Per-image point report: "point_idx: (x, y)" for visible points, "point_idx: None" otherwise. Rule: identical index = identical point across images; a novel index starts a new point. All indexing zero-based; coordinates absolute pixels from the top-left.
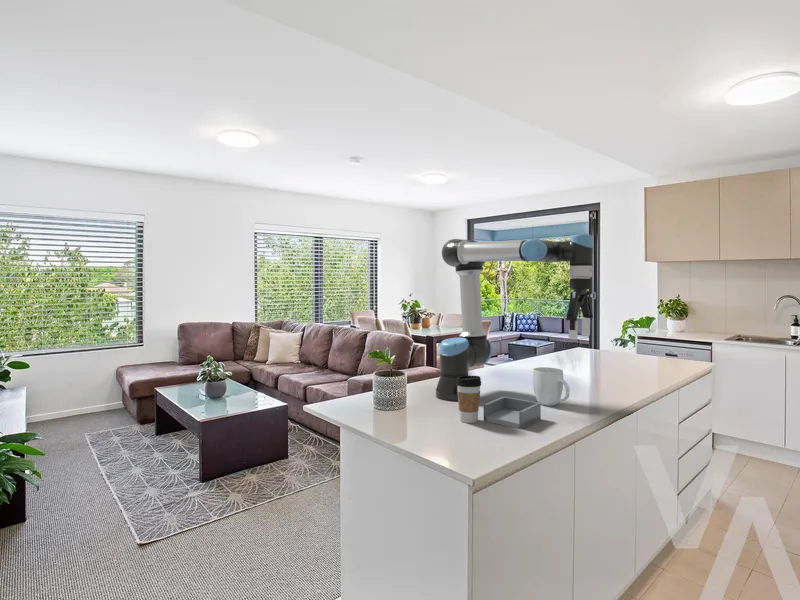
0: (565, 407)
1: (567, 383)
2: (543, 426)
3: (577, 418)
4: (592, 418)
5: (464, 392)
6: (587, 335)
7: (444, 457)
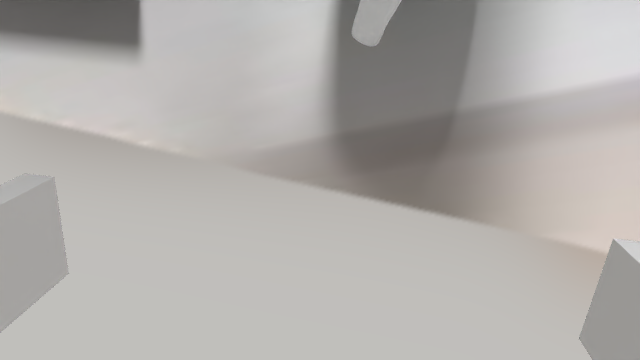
0: None
1: (381, 32)
2: (59, 21)
3: (245, 108)
4: (281, 158)
5: None
6: (586, 320)
7: None
